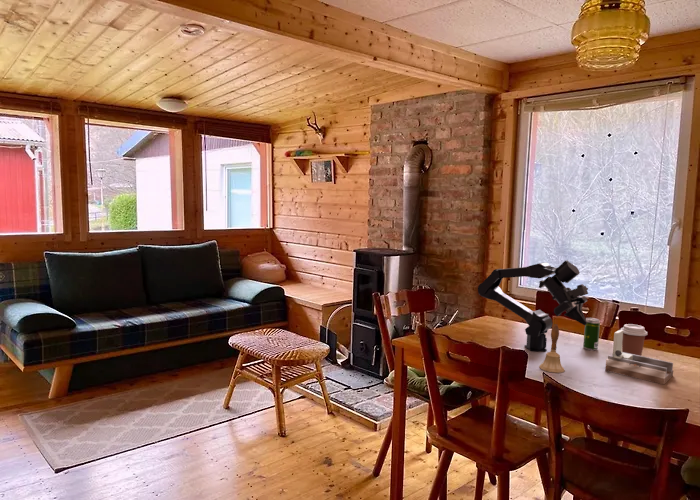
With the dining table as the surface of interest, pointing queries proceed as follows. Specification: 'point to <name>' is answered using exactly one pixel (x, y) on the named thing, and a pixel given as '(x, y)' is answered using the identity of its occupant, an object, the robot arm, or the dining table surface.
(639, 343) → the coffee cup
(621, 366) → the stand
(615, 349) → the carriage
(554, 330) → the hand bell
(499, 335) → the dining table surface
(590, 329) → the beer can
